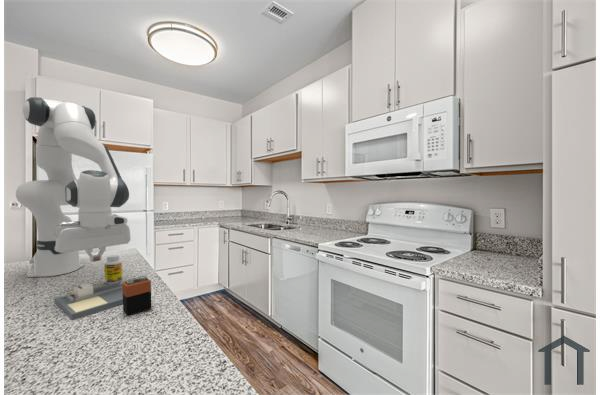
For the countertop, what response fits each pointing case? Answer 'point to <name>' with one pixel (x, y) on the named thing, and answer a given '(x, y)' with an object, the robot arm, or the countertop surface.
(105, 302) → the board
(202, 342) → the countertop surface
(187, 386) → the countertop surface
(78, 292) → the block
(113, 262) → the supplement bottle
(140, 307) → the battery
